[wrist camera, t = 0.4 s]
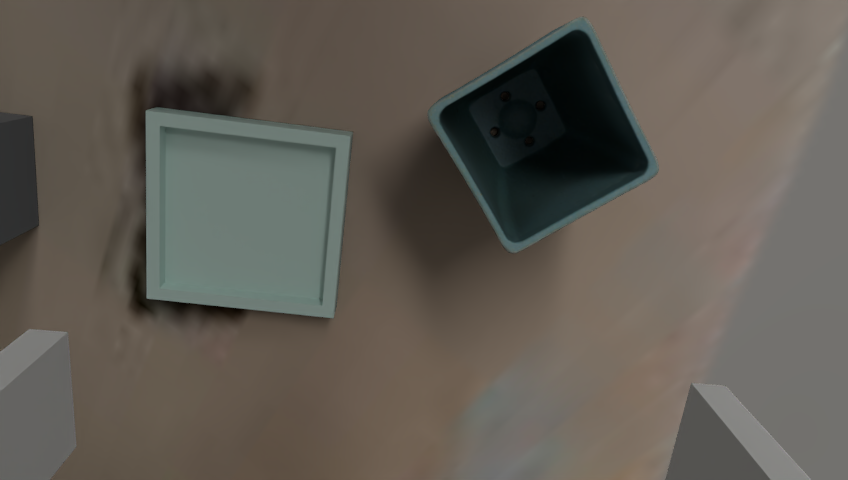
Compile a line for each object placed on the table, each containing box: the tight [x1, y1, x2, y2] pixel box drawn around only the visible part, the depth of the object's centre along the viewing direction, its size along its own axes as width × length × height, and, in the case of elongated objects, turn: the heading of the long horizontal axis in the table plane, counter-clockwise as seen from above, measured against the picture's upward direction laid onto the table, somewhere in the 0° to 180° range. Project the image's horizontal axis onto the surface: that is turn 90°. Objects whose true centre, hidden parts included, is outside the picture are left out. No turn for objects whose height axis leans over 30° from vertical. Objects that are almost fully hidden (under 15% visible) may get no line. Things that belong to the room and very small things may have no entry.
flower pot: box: [428, 17, 659, 253], centre depth 35 cm, size 9×9×9 cm
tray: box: [146, 107, 353, 318], centre depth 40 cm, size 12×12×2 cm
